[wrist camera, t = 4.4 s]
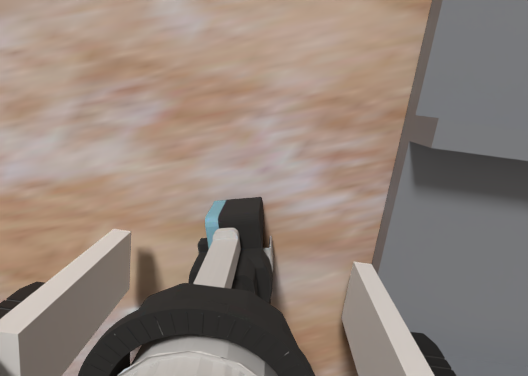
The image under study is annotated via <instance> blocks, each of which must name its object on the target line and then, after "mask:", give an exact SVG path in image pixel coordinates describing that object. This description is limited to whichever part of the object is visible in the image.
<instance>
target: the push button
mask: <svg viewBox="0 0 528 376" xmlns="http://www.w3.org/2000/svg"><path fill="white" fill-rule="evenodd" d="M263 219H264V215H263V204H262V198H261V197H256V198H243V199H231V200H222V201H214V203H213V205H212V207H211V209H210V210H209V212H208V214H207V215H206V218H205V227H206V234H207V238H201V239H200V241H199V243H198V251H199V255H198V257H197V259H196V261H195V263H194V265H193V267H192V269H191V272H190V275H189V283H183V284H179V285H177V286H174V287H172V288H169V289H166V290H164V291H161V292H158V293H156V294H153V295H151V296H149V297H148V298H147V299H146V300H145V301H144V303H143V304H142V305H141V307H140V308H139V309H138V310H137V311H135V312H133V313H131V314H129V315H127V316H125V317H124V318H122V319H121V320H119V321H118V322H116V323H115V324H114V325H113V326H112V327H111V328H109V329H108V330H107V331H106V332H105V334H104V335H103V336H102V337H101V338H100V339H99V341H98V342H97V343H96V345H95V346H94V347H93V349H92V350H91V352H90V353H89V354H88V356H87V357H86V359H85V361H84V363H83V365H82V366H81V369H80V371H79V374H78V376H315V375H314V372H313V370H312V368H311V366H310V364H309V362H308V360H307V359H306V357H305V355H304V354H303V353H302V351H301V350H300V349H299V347H298V345H297V343H296V341H295V339H294V337H293V335H292V333H291V331H290V328H289V326H288V324H287V322H286V320H285V318H284V316H283V314H282V313H281V312H280V311H279V310H277V309H276V308H274V307H273V306H271V305H270V304H271V302H270V298H271V293H272V272H273V259H274V257H273V245H272V236H270V240H269V247H268V248H263ZM140 345H142V346H141V348H140V350H139V351H138V353H137V355H136V357H135V359H134V361H133V362H132V364H131V366H130V352H131V351H132V350H134V349H135V348H137V347H139V346H140Z"/></svg>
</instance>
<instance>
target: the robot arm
mask: <svg viewBox="0 0 528 376" xmlns="http://www.w3.org/2000/svg"><path fill="white" fill-rule="evenodd" d="M130 252H131V231H125V230H118V229H113V230H111V231H110V232H109V233H108V234H106V235H105V236H104V237H103V238H101V239H100V240H99V241H98V242H96V243H95V244H94V245H93V246H91V247H90V248H89V249H88V250H86V251H85V252H84V253H82V254H81V255H80V256H79V257H77V258H76V259H75V260H74V261H72V262H71V263H70V264H69V265H67V266H66V267H65V268H64V269H62V270H61V271H60V272H59V273H57V274H56V275H55V276H54V277H52V278H51V279H50V280H49V281H47V282H46V283H43V282H35V283H32V284H30V285H28V286H25V287H23V288H21V289H19V290H18V291H16V292H15V293H14V294H12V295H11V296H10V297H8V298H7V300H6V301H5V300H4V301H3V302H1V303H0V376H62V375H63V373H64V372H65V371H66V369H67V368H68V367H69V366H70V364H71V363H72V362H73V360H74V359H75V358H76V357H77V355H78V354H79V353H80V351H81V350H82V349H83V348H84V346H85V345H86V344H87V342H88V341H89V340H90V339H91V337H92V336H93V335H94V333H95V332H96V331H97V330H98V328H99V327H100V326H101V324H102V323H103V322H104V321H105V319H106V318H107V317H108V315H109V314H110V313H111V312H112V310H113V309H114V308H115V306H116V305H117V304H118V303H119V301H120V300H121V299H122V297H123V296H124V295H125V294H126V292H127V291H128V290H129V282H130ZM342 321H343V325H344V328H345V332H346V335H347V339H348V342H349V345H350V349H351V352H352V356H353V359H354V363H355V366H356V370H357V373H358V376H456V374H455V373H454V371H453V370H451V366H450V365H449V363H448V362H447V360H445V357H444V355H443V354H442V352H441V351H440V349H439V348H438V346H437V345H436V344H435V343H434V342H433V341H432V340H431V339H429V338H428V337H427V336H426V335H425V334H424V333H416V332H410V331H409V330H408V328H407V326H406V324H405V322H404V321H403V319H402V317H401V315H400V314H399V312H398V310H397V308H396V307H395V305H394V303H393V301H392V299H391V298H390V296H389V294H388V292H387V291H386V289H385V287H384V285H383V284H382V282H381V280H380V278H379V276H378V275H377V273H376V271H375V269H374V268H373V266H372V264H368V263H360V262H353V266H352V271H351V276H350V280H349V285H348V290H347V294H346V299H345V304H344V308H343V313H342Z"/></svg>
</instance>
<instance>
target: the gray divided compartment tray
mask: <svg viewBox="0 0 528 376" xmlns="http://www.w3.org/2000/svg"><path fill="white" fill-rule="evenodd" d="M372 266H373V268H374V269H375V271H376V273H377V275H378V276H379V278H380V280H381V282H382V284H383V285H384V287H385V289H386V291H387V292H388V294H389V296H390V298H391V299H392V301H393V303H394V305H395V307H396V308H397V310H398V312H399V314H400V315H401V317H402V319H403V321H404V322H405V324H406V326H407V328H408V330H409V331H410V332H416V333H424V334H425V335H426V336H427V337H428V338H429V339H431V340H432V341H433V342H434V343H435V344H436V345H437V346H438V348H439V349H440V351H441V352H442V354H443V355H444V357H445V360H447V362H448V363H449V365H450V366H451V370H453V371H454V373H455V374H456V376H528V0H432V4H431V8H430V13H429V17H428V21H427V26H426V30H425V34H424V39H423V43H422V47H421V52H420V56H419V60H418V65H417V69H416V73H415V78H414V82H413V86H412V91H411V95H410V100H409V104H408V108H407V113H406V117H405V121H404V126H403V130H402V134H401V139H400V143H399V147H398V152H397V156H396V160H395V165H394V169H393V173H392V178H391V182H390V186H389V191H388V195H387V200H386V204H385V208H384V213H383V217H382V221H381V226H380V230H379V234H378V239H377V243H376V247H375V252H374V256H373V260H372Z"/></svg>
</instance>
